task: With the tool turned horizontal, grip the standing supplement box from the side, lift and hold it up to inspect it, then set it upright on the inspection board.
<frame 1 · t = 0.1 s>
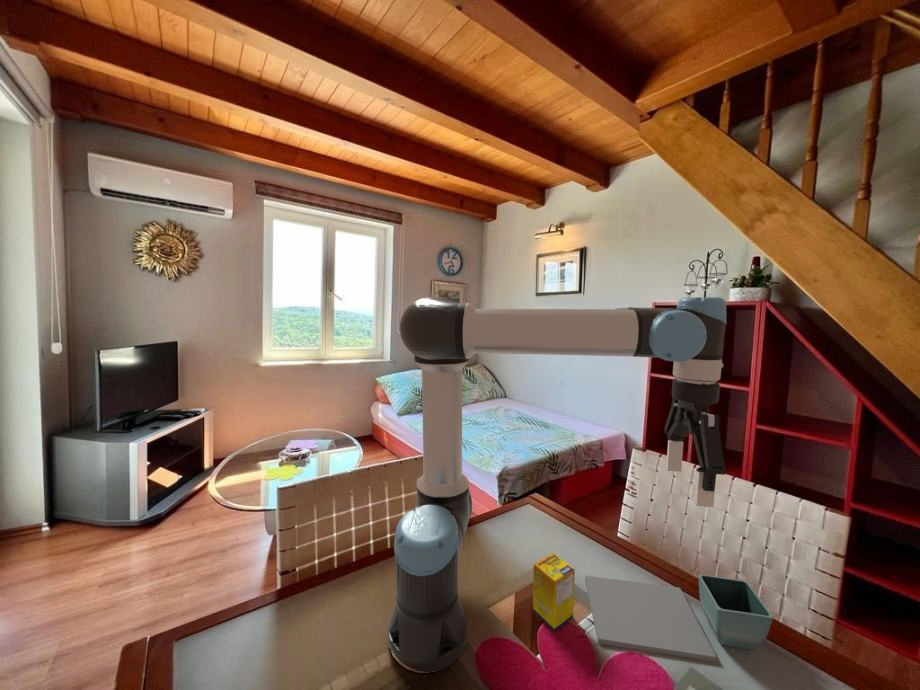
hand: (687, 486, 71), 28 cm above the table, tool pointing down, fingers open, 13 cm apart
supplement box: (552, 615, 75), on the table
flower pot: (729, 637, 70), on the table
inspection board: (642, 615, 74), on the table
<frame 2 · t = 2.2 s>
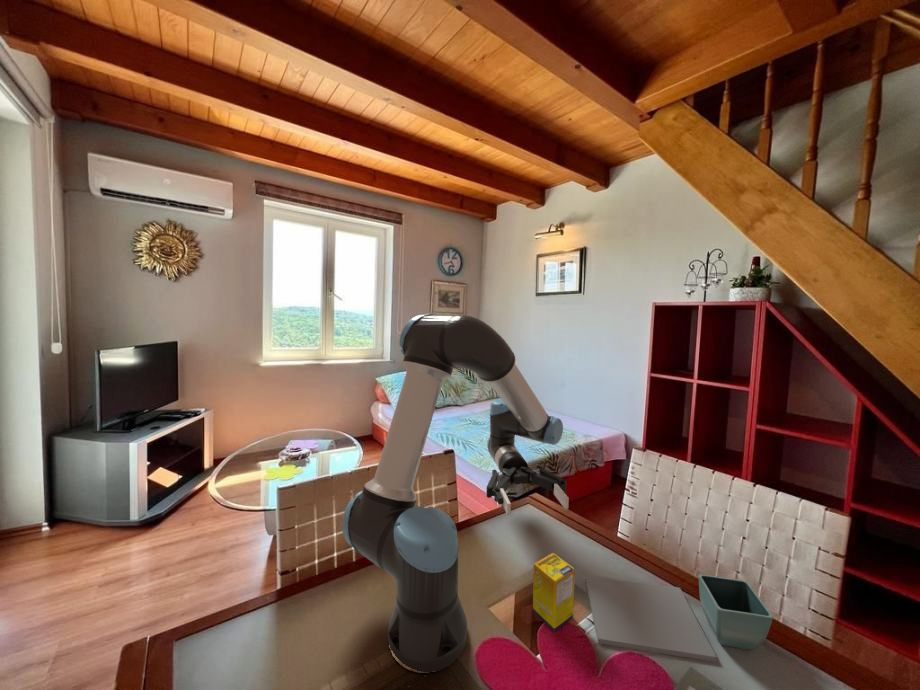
hand: (538, 506, 82), 18 cm above the table, tool horizontal, fingers open, 13 cm apart
nothing on the table moved.
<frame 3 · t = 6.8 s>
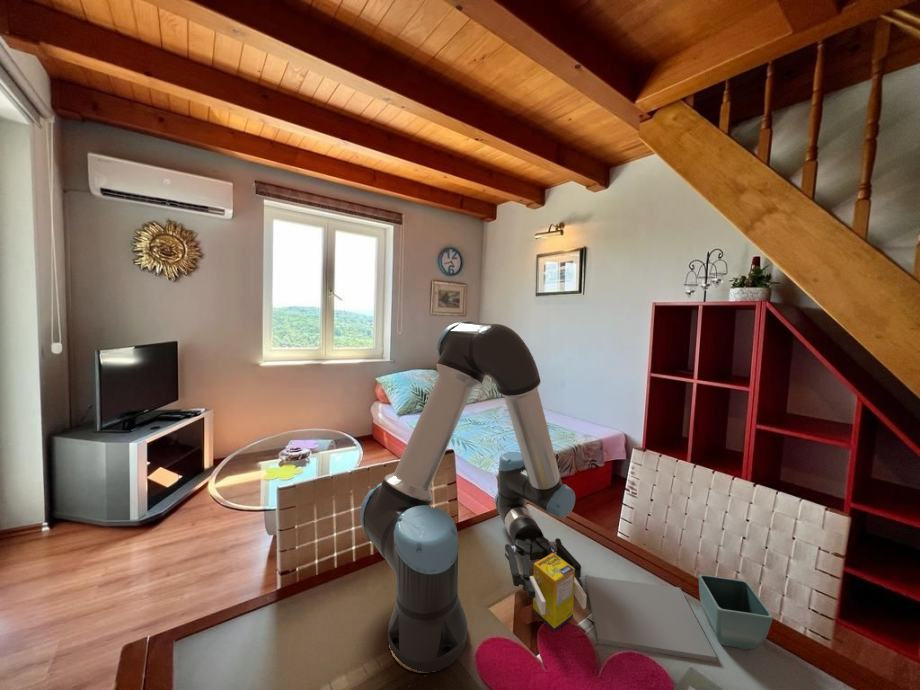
hand: (564, 604, 69), 7 cm above the table, tool horizontal, fingers closed on supplement box, 8 cm apart
supplement box: (552, 615, 75), on the table, touching gripper
everything else where it was.
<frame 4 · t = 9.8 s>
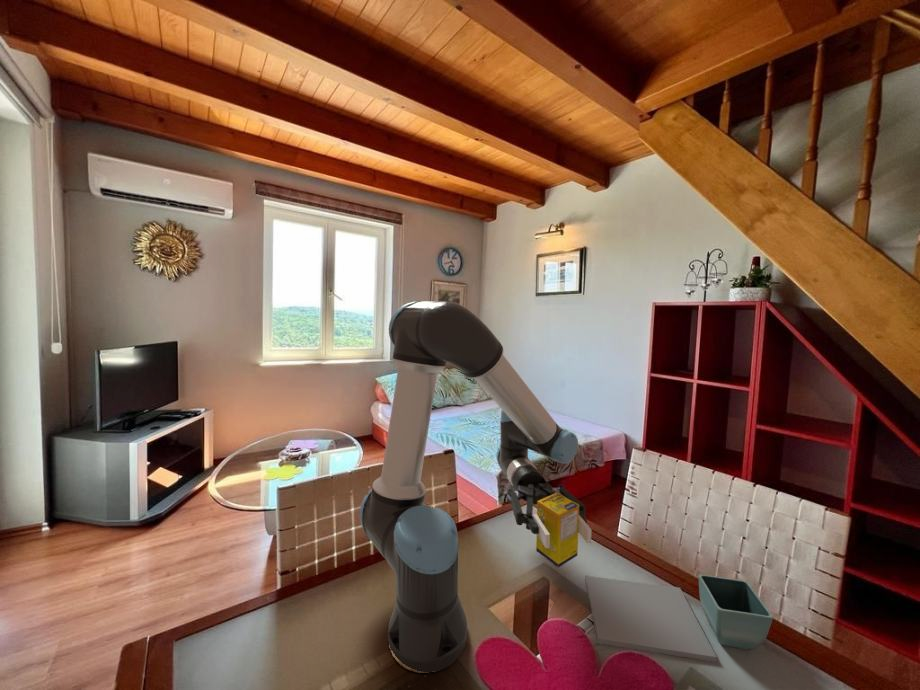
hand: (568, 538, 68), 20 cm above the table, tool horizontal, fingers closed on supplement box, 8 cm apart
supplement box: (556, 554, 73), point 13 cm above the table, touching gripper
everything else where it was.
when the fingers open (9 cm above the table, at t = 13.3 s): supplement box drops 1 cm, resting on inspection board.
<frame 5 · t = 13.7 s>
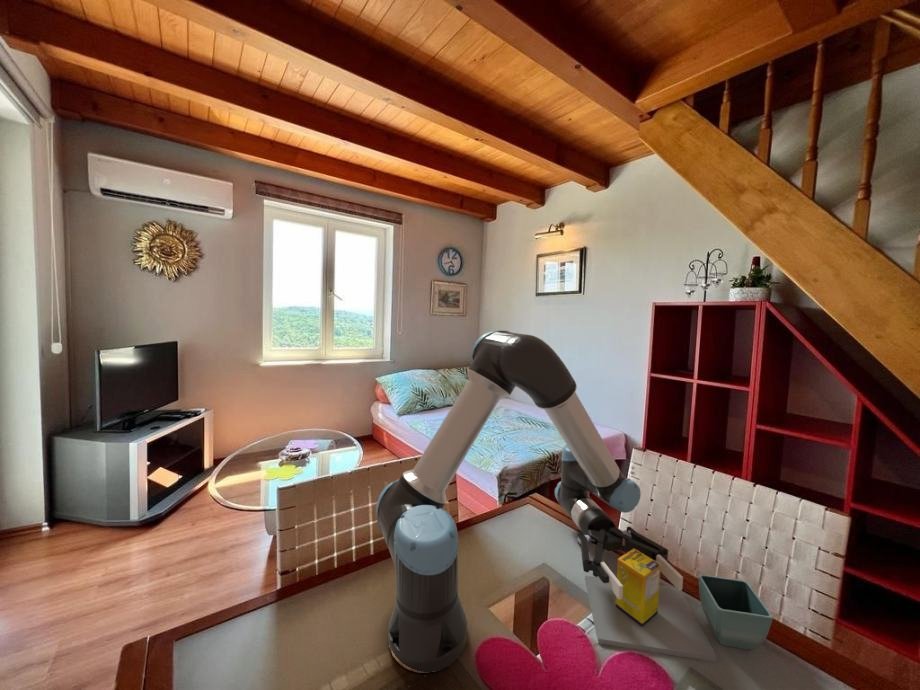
hand: (651, 588, 70), 9 cm above the table, tool horizontal, fingers open, 12 cm apart
supplement box: (636, 611, 75), point 1 cm above the table, touching inspection board
everything else where it was.
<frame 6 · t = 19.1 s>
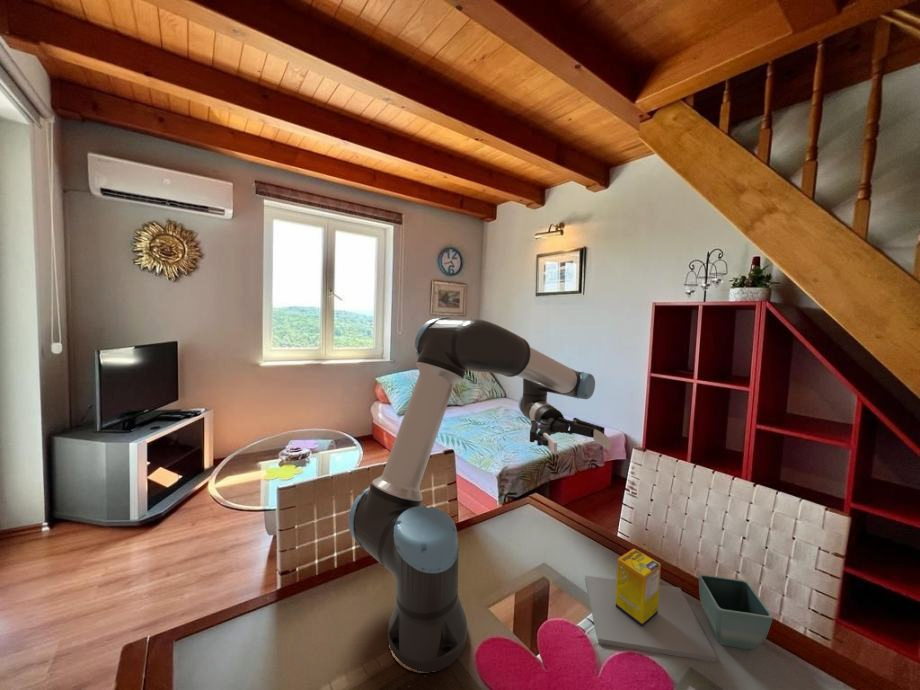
hand: (582, 446, 85), 30 cm above the table, tool horizontal, fingers open, 13 cm apart
nothing on the table moved.
at the end: supplement box inside the target area on the inspection board (0.2 cm from its centre), point 0.8 cm above the inspection board's base; supplement box tilted 0°; the gripper is holding nothing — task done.
